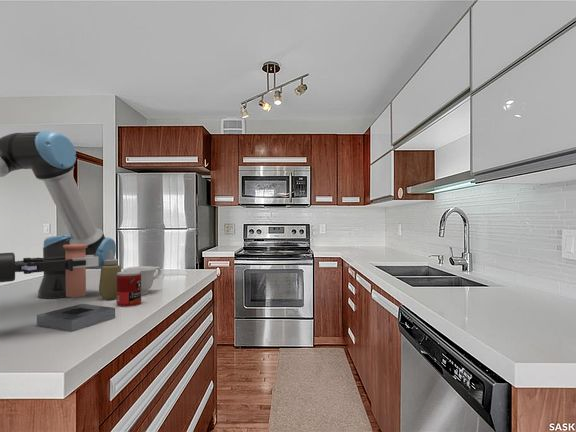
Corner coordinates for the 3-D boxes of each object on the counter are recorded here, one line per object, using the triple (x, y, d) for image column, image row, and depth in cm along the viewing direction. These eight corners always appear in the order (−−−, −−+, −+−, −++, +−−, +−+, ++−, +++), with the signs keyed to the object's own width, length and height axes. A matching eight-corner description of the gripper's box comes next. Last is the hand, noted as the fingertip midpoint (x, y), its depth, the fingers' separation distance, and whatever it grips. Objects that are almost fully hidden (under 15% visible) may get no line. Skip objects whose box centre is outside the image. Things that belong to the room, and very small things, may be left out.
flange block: (36, 325, 102) (36, 314, 102) (82, 313, 115) (82, 303, 115) (71, 331, 97) (71, 320, 97) (115, 317, 109) (115, 307, 109)
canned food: (132, 307, 123) (132, 274, 123) (111, 306, 124) (111, 273, 124) (146, 301, 130) (145, 270, 130) (125, 301, 132) (125, 270, 132)
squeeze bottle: (127, 296, 138) (127, 249, 138) (111, 301, 131) (110, 251, 131) (111, 295, 141) (110, 248, 141) (93, 300, 133) (93, 250, 133)
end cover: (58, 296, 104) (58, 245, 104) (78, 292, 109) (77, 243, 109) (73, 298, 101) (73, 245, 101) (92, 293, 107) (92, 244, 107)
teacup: (168, 292, 147) (168, 267, 147) (132, 298, 136) (132, 271, 136) (153, 288, 155) (153, 264, 155) (117, 294, 144) (117, 268, 144)
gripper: (-4, 277, 101) (90, 269, 116) (-5, 288, 87) (103, 277, 102) (-5, 250, 101) (89, 245, 116) (-5, 256, 87) (102, 250, 102)
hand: (95, 260), depth 109 cm, fingers closed on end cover, 5 cm apart
